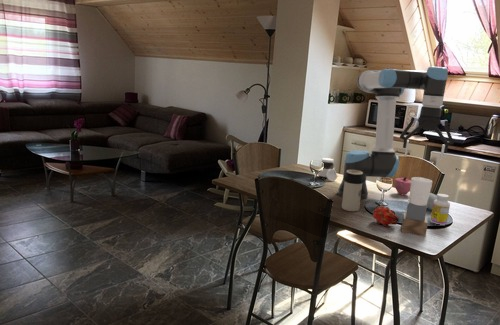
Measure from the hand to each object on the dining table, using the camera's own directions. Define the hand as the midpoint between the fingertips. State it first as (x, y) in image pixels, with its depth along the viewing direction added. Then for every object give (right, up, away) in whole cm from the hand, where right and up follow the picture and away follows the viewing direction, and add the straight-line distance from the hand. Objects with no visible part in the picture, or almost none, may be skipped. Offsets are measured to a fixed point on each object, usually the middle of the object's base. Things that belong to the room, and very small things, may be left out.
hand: (423, 158), depth 171 cm
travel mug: (-24, -24, +24) cm, 41 cm away
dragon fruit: (-14, -28, +6) cm, 32 cm away
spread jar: (-25, -12, +77) cm, 82 cm away
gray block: (-3, -24, -1) cm, 24 cm away
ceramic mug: (+18, -25, +30) cm, 43 cm away
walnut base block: (-4, -30, +1) cm, 30 cm away
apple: (+11, -19, +54) cm, 58 cm away
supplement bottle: (+12, -29, +12) cm, 33 cm away
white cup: (-3, -19, -2) cm, 19 cm away
